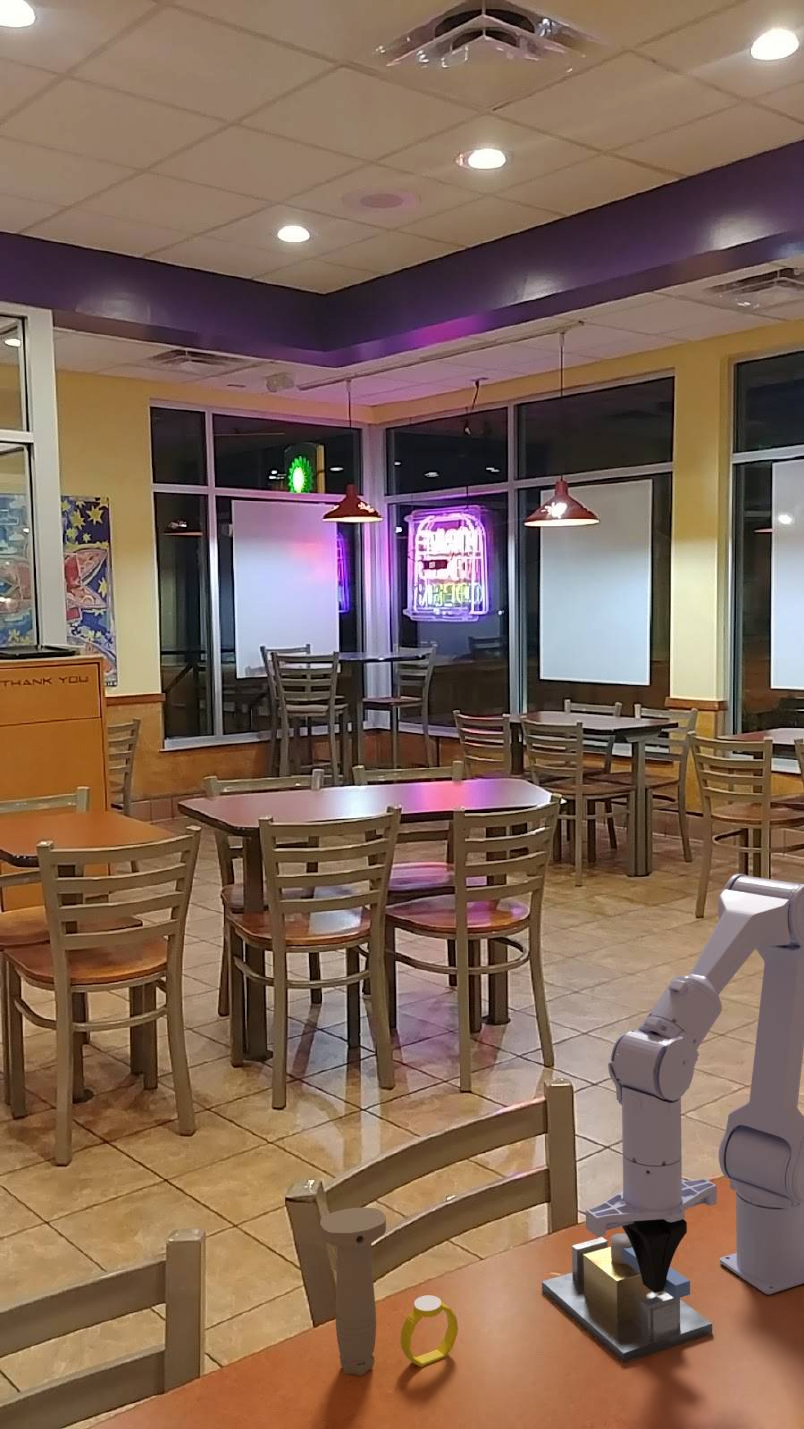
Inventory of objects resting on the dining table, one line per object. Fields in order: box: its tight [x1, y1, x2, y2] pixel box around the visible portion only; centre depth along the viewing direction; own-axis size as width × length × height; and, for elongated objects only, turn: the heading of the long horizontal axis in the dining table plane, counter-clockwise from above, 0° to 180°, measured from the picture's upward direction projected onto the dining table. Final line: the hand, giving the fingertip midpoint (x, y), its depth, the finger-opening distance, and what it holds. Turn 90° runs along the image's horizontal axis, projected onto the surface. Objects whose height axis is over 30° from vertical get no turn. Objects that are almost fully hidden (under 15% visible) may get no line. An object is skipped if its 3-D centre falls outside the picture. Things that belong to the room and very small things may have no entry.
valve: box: [541, 1236, 713, 1364], centre depth 128 cm, size 11×15×7 cm
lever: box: [610, 1232, 691, 1299], centre depth 124 cm, size 11×3×2 cm, turn 27°
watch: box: [400, 1294, 459, 1368], centre depth 121 cm, size 6×3×6 cm, turn 122°
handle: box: [319, 1207, 387, 1377], centre depth 119 cm, size 5×6×15 cm
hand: (653, 1287), depth 121 cm, fingers closed
